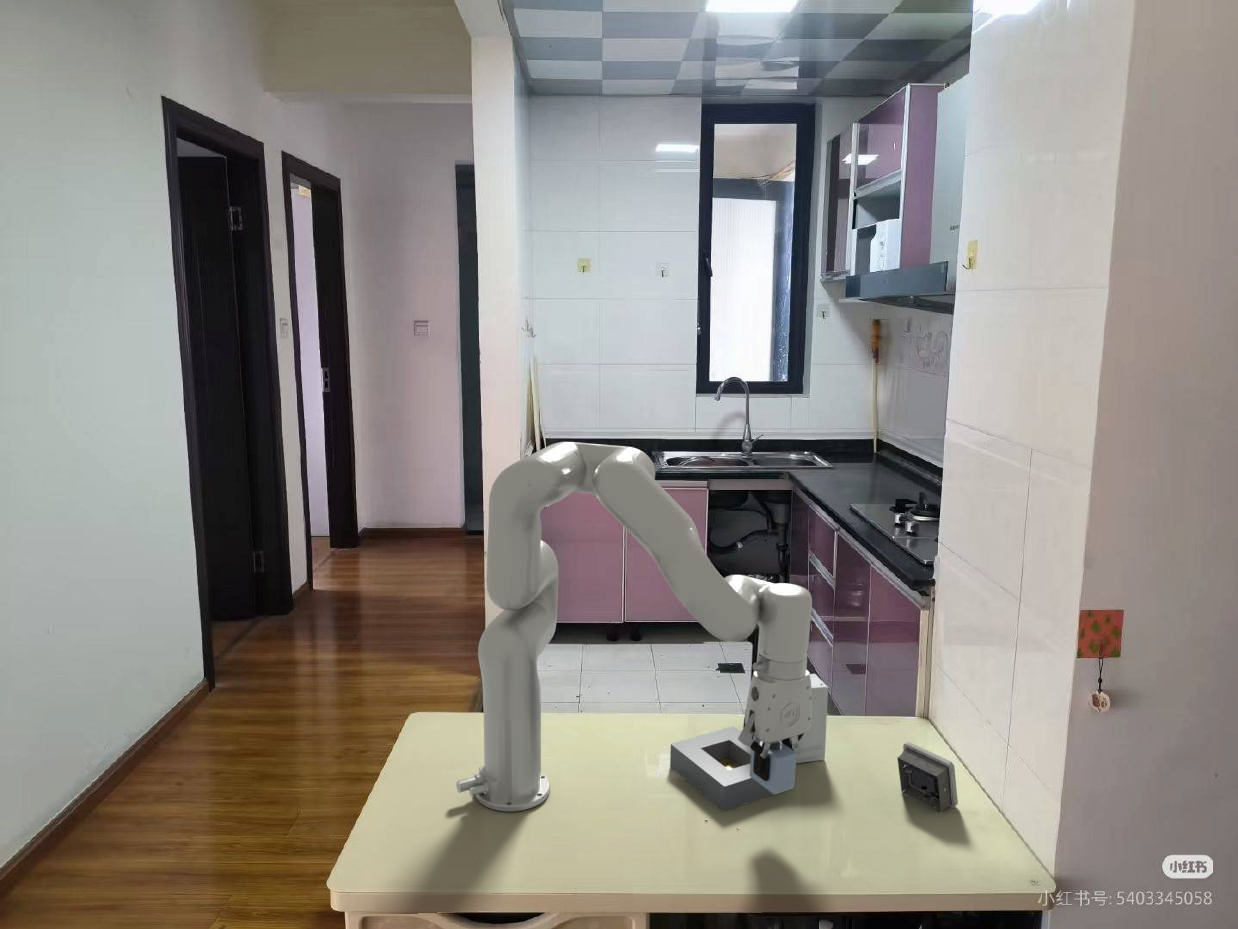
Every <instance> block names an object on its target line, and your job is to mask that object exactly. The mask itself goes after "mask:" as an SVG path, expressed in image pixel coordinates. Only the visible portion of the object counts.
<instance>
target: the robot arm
mask: <svg viewBox="0 0 1238 929" xmlns="http://www.w3.org/2000/svg"><path fill="white" fill-rule="evenodd" d="M489 492H490V493H489V497H488V532H487V533H488V534H487V553H486V554H487V555H486V556H487V557H486V558H487V559H486V578H485V579H486V590H487V592H488V593H487V594H488V596H489V598H490V600H491V601H492V603H493V604H494V605H495V606H496V607H498V608H500V609H502V611H501V612H500V613H499V614H498V615H497V616H496V617H494V619H493V620H491V622H490V623H488V625H487V626H486V628H485V629H484V630H483V632H482V634H481V637H480V640H479V642H478V649H477V658H478V662H479V668H480V675H481V679H482V680H481V681H482V703H483V704H482V705H483V706H482V707H483V747H484V748H483V752H484V754H483V755H484V756H483V757H484V758H483V762H484V765H481V766H479V767H478V773H476V774H474V775H473V776H472V777H467V778H464V779H460V780H457V781H456V784H455V785H456V789H457V792H458V793H459V794H460V793H464V792H467V791H468V792H469V795H470V797H476V799H477V800H478V802H479V803H480V804H482V805H483V806H484V807H487V808H489V809H490V810H495V811H500V812H508V813H509V812H521V811H525V810H528V809H532V808H534V807H536V806H538V805H541V804H542V803H543V802H544V801H545V800H546V799H547V798H548V796H549V795H550V792H551V782H550V780H549V778H548V776H547V775H545V773H543V772H542V704H541V702H542V698H541V682H540V677H539V673H538V672H539V671H538V659H539V657H540V655H541V654H542V652H543V651H544V649H545V648H546V647H547V646H548V645H549V644H550V642H551V640H552V638H553V637H554V634H555V632H556V628H557V623H558V622H557V620H558V599H559V596H558V595H559V594H558V593H559V563H558V559H557V556H556V554H555V552H554V550H553V549H552V547H551V546H550V545H549V544H548V543H546V542H545V541H543V540H542V532H543V531H542V530H543V529H542V520H541V514H540V513H541V511H542V509H543V508H545V507H548V506H550V505H553V504H555V503H558V502H560V501H562V500H563V499H564V498H566V497H568V496H570V494H572V493H581V494H582V493H584V494H592V495H595V497H596V499H597V500H598V501H599V502H600V504H601V505H602V506H603V507H604V508H605V509H606V510H607V512H608V513H610V514H611V516H613V517H614V519H615V520H617V521H618V523H619V524H621V525H622V527H624V528H625V530H627V532H629V534H630V535H631V536H632V537H633V538H634V539H635V540H636V542H638V544H640V546H641V547H643V549H645V551H646V552H647V553H648V555H650V557H652V559H653V561H654V563H655V565H656V567H657V568H658V570H659V572H660V574H661V575H662V576H663V578H664V580H665V581H666V583H667V584H668V587H669V588H670V589H671V591H672V592H673V594H674V595H675V596H676V598H677V600H678V601H679V602H680V603H681V605H682V606H683V607H684V608H685V609H686V610H687V612H689V613H690V615H692V616H693V618H694V619H695V620H696V621H697V622H698V623H699V624H700V625H701V626H702V627H703V628H704V629H705V630H706V631H707V632H708V633H709V634H711V635H712V636H714V637H715V638H716V639H718V640H721V641H723V642H726V643H739V642H741V641H745V640H746V639H747V637H749V636H750V635H751V633H752V632H753V631H754V629H755V627H756V624H758V625H759V641H758V654H757V662H756V663H753V670H754V671H755V672H754V674H753V677H752V680H751V679H750V685H749V688H748V695H747V700H746V708H745V711H746V714H745V713H744V717H745V727H744V729H742V730H741V734H740V736H739V738H738V740H739V741H740V742H741V743H743V744H744V745H746V746H748V747H750V748H751V749H752V750H753V751H754V764H753V772H754V773H755V774H756V775H757V776H759V777H760V778H761V779H762V780H764V781H767V780H769V771H770V757H769V756H768V752H769V748H770V744H771V743H772V742H776V741H779V740H781V741H782V742H781V743H783V744H784V745H786V746H787V747H789V748H790V749H792V750H793V751H794V750H795V749H797V748H798V742H799V740H800V739H801V738H802V736H803V735H804V733H805V732H807V731H808V730H809V729H810V727H811V725H812V721H811V718H812V687H811V679H810V674H811V673H810V671H809V670H807V667H808V666H807V664H808V651H809V644H810V643H809V641H810V630H811V620H812V608H813V607H812V606H813V598H812V594H811V592H810V591H809V590H808V589H807V588H805V587H803V586H801V585H798V584H794V583H787V582H786V583H785V582H778V583H774V582H770V581H767V580H766V581H765V580H761V579H759V578H755V577H750V576H748V575H744V574H730V575H727V576H725V577H724V576H723V575H721V574H720V572H719V571H718V569H717V568H716V567H715V566H714V564H713V563H712V562H711V560H710V558H709V557H708V555H707V553H706V551H705V549H704V548H703V545H702V541H701V539H700V535H699V531H698V529H697V527H696V524H695V522H694V520H693V518H692V517H691V516H690V515H689V514H688V512H686V511H685V510H684V509H683V507H681V505H680V504H679V503H677V501H676V500H675V499H673V497H672V496H671V495H670V494H669V493H668V492H667V491H666V490H665V489H664V488H663V487H662V486H661V484H659V482H657V481H656V468H655V465H654V463H653V460H652V459H651V458H650V457H649V455H647V453H646V452H644V451H642V450H640V449H638V448H635V447H633V446H625V445H612V444H611V445H610V444H601V443H600V444H598V443H597V444H596V443H586V442H576V441H575V442H574V441H560V442H556V443H555V442H554V443H552V444H550V445H549V444H548V446H546V447H544V448H542V449H540V450H539V449H538V451H536V452H534V453H532V454H529V455H528V456H526V457H525V456H524V457H523V458H521V459H519V460H517V461H515V462H514V463H511V465H508V466H507V467H506V468H504V469H502V471H501V472H500V473H499V474H498V475H497V477H496V478H495V480H494V481H493V484H492V485H491V489H490V491H489ZM753 734H754V737H753V739H752V736H753ZM761 741H762V742H763V743H762V746H761V745H760V742H761Z"/></svg>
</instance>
